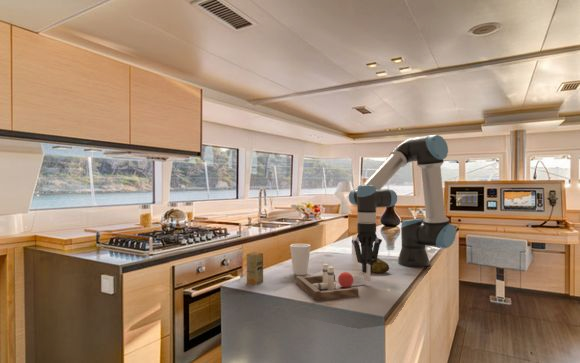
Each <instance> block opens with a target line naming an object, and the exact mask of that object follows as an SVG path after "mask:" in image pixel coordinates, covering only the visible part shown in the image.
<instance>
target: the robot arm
mask: <svg viewBox="0 0 580 363" xmlns="http://www.w3.org/2000/svg"><path fill="white" fill-rule="evenodd" d="M448 153H449V147H448V143H447V142H446V139H444V137H443V136H441V135H438V134H433V135H432V134H430V135H423V136H417V137H410V138H408V139H405V140H404V141H402V142H401V143H399V144H398V145H397V146H396V147H395V148H393V150H392V151H391V152H390V153H389V155H388V156H389V157H387V159H386V160H385V161H384V162H383V163H382V164H381V165H380V166H379V167H378V168H377V169H376V170H375V171H374V172H373V174H371V175H370V177H368V178H367V179H366V181H364V183H363V184H360V185H358V186H357V188H354V189H351V190H350V192H348V193H349V194H348V201H349V202H350V204H351V205H353V206H357V208H356V210H357V219H356V220H357V235H356V238H354V239H352V240H351V243H352V245H353V248H354V251H355V256H356V260H357V263H359V264H361V268H362V269H361V272H362V273H363V280H364V281H366V282H371V281H372V280H371V273H372V265H373V264H374V263H376V261H377V258H378V256H379V255H378V254H379V250H380V246H381V244H382V241H383V239H382V238H379V237H378V235H377V233H376V232H377V223H376V222H377V208H391V207H394V206H395V205H396V204H397V202H398V195H397V192H395V190H393V189H388V188H386V189H382V188H384V186H386V184H387V183H388V182H389V181H390V180H391V179H392V177H394V176H395V174H396V173H398V171H399V170H400V169H401V168H403V167H405V166H406V165H407V164H409V163H411V162H416V163H417V166H418V167H419V168H420V169H421V170H420V171H421V179H422V189H423V199H424V210H425V217H424V218H415V219H414V218H413V219H403V220H402V221H401V227H400V230H401V231H400V232H401V233H400V234H401V236H400V237H401V249H400V253H399V256H398V259H397V262H398V264H399V265H402V266H404V267H405V266H407V267H411V268H414V267H416V268H420V267H421V268H423V267H428V266H430V260H429V256H428V253H427V250H426V247H432V248H437V249H448V248H450V247H451V246H452V245H453V244H454V242H455V239H456V237H457V234H456V233H457V231H456V227H455V226H454V225H453V224H451V223H450V218H448V217H447V216H446V210H445V199H444V198H445V197H444V191H443V190H444V189H443V179H442V168H441V167H442V165H443V164H444V163H445V162H444V159H446V158H447V157H448ZM367 263H368V264H367Z"/></svg>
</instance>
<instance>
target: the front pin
mask: <svg viewBox="0 0 580 363" xmlns="http://www.w3.org/2000/svg"><path fill="white" fill-rule="evenodd" d="M312 285H313V286H314V287H316V288H317V289H318V290H320V291H322V290H328V283H323V282H317V283H312ZM334 289H337V283H336V282H335V281H334Z"/></svg>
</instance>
